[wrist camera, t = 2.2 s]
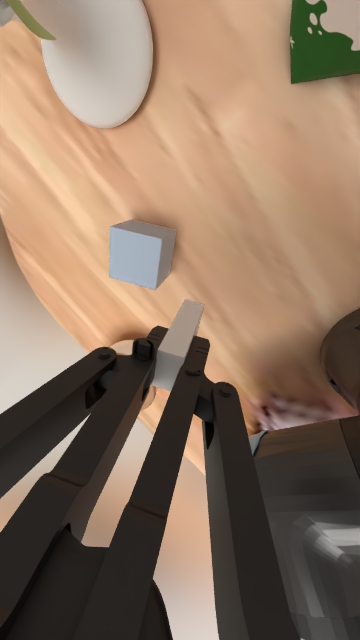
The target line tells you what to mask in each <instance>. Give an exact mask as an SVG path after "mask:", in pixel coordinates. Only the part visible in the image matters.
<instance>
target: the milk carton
mask: <svg viewBox="0 0 360 640" xmlns="http://www.w3.org/2000/svg"><path fill="white" fill-rule="evenodd" d="M290 55H291V84H293V83H299V82H306V81H312V80H318V79H325V78H331V77H337V76H344V75H350V74H356V73H360V0H293V1H292V13H291V23H290Z"/></svg>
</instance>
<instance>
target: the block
mask: <svg viewBox="0 0 360 640" xmlns="http://www.w3.org/2000/svg"><path fill="white" fill-rule="evenodd" d="M176 231H177V230H176V229H172V228H168V227H163V226H159V225H155V224H151V223H146V222H142V221H138V220H134V219H132V220H129V221H126V222H123V223H120V224H117V225H113V226H110V258H109V278H113V279H117V280H120V281H124V282H128V283H131V284H135V285H139V286H142V287H146V288H150V289H154V290H156V289H157V288H158V287H159V285H160V284H161V283H162V282H163V281H164V280H165V279H166V278H167V276H168V275H169V274H170V269H171V263H172V256H173V250H174V244H175V237H176Z"/></svg>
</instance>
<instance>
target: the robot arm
mask: <svg viewBox="0 0 360 640" xmlns="http://www.w3.org/2000/svg"><path fill="white" fill-rule="evenodd" d="M203 308H204V304H201V303H197V302H194V301H190V300H186V299H185V301H184V303H183V304H182V306H181V308H180V310H179V312H178V313H177V315H176V317H175V319H174V321H173V323H172V324H171V326H170V328H169V329H168V328H164V327H161V326H156V327H155V328H153V329H152V330H151V332H150V333H149V335H148V336H147V338H138V339H136V340H134V341H133V346H132V354H131V355H117V353H116V351H115V350H114V349H113V348H110V347H100V348H97V349H95V350H94V351H92V352H91V353H89V354H88V355H87V356H85V357H84V358H82V359H81V360H79V361H78V362H76V363H75V364H73V365H72V366H70V367H69V368H67V369H66V370H64V371H63V372H62V373H60V374H59V375H57V376H56V377H54V378H53V379H51V380H50V381H48V382H47V383H46V384H44V385H42V386H41V387H40V388H38V389H37V390H35V391H34V392H32V393H31V394H29V395H28V396H26V397H25V398H24V399H22V400H20V401H19V402H18V403H16V404H15V405H13V406H12V407H10V408H9V409H7V410H6V411H4V412H3V413H1V414H0V498H1V497H2V496H4V495H5V494H6V493H7V492H8V491H9V490H10V489H11V488H12V487H13V486H14V485H15V484H16V483H17V482H18V481H19V480H20V479H22V478H23V477H24V476H25V475H26V474H27V473H28V472H29V471H30V470H31V469H32V468H33V467H34V466H35V465H36V464H38V463H39V462H40V461H41V459H43V458H44V457H45V456H46V455H47V454H48V453H49V452H50V451H51V450H52V449H53V448H54V447H56V446H57V445H58V444H59V443H60V442H61V441H62V440H63V439H64V438H65V437H66V436H67V435H68V434H69V433H70V432H71V431H73V430H74V429H75V428H76V427H77V426H78V425H79V424H80V423H81V422H82V421H83V420H84V419H85V418H86V417H87V416H88V415H89V414H90V416H89V417H88V419H87V420H86V422H85V423H84V425H83V426H82V427H81V429H80V431H79V432H78V434H77V435H76V436H75V438H74V439H73V441H72V442H71V444H70V445H69V447H68V448H67V450H66V451H65V453H64V454H63V455H62V457H61V458H60V460H59V461H58V463H57V464H56V466H55V467H54V469H53V470H52V471H51V472H49V473H46V474H44V475H43V476H41V477H40V478H39V480H38V481H37V482H36V483H35V485H34V486H33V487H32V489H31V490H30V492H29V493H28V495H27V496H26V497H25V499H24V500H23V502H22V503H21V504H20V506H19V507H18V509H17V510H16V512H15V513H14V514H13V516H12V517H11V519H10V520H9V521H8V523H7V525H6V526H5V527H4V528H3V530H2V531H1V532H0V640H173V638H172V634H171V630H170V625H169V620H168V616H167V612H166V608H165V604H164V601H163V598H162V595H161V593H160V591H159V589H158V587H157V585H156V583H155V582H154V580H153V575H154V571H155V567H156V563H157V558H158V555H159V551H160V547H161V542H162V539H163V535H164V531H165V527H166V522H167V517H168V512H169V508H170V504H171V500H172V496H173V492H174V488H175V485H176V480H177V477H178V472H179V469H180V465H181V461H182V457H183V453H184V449H185V445H186V441H187V437H188V433H189V429H190V425H191V421H192V417H193V414H195V415H196V416H198V417H199V418H201V419H202V428H203V442H204V456H205V470H206V484H207V498H208V512H209V526H210V538H211V552H212V567H213V581H214V595H215V608H216V617H217V626H218V634H219V640H360V309H359V310H357V311H355V312H353V313H351V314H349V315H348V316H346V317H345V318H343V319H342V320H341V321H340V322H338V323H337V324H336V325H335V326H334V327H333V328H332V329H331V330H330V332H329V333H328V335H327V336H326V338H325V340H324V342H323V344H322V347H321V353H320V359H321V364H322V368H323V370H324V373H325V375H326V378H327V380H328V381H329V383H330V384H331V386H332V387H333V388H334V389H335V390H336V391H337V392H338V393H339V394H340V395H341V396H342V397H343V398H344V399H345V400H346V401H347V402H348V403H349V404H350V405H351V406H352V407H353V408H354V409H355V410H356V411H357V412H358V414H359V415H358V416H353V417H348V418H343V419H335V420H329V421H324V422H318V423H313V424H307V425H302V426H296V427H290V428H285V429H279V430H274V431H270V430H265V431H262V432H260V433H259V434H255V435H251V436H248V433H247V429H246V425H245V421H244V417H243V412H242V408H241V404H240V400H239V396H238V392H237V390H236V389H235V387H234V386H232V385H231V384H229V383H226V382H218V383H216V384H215V383H213V382H212V381H210V380H209V379H208V378H207V377H206V376H205V373H204V368H205V364H206V360H207V356H208V352H209V348H210V343H209V340H208V339H204V338H201V337H197V336H196V335H197V332H198V328H199V324H200V320H201V316H202V312H203ZM152 381H153V383H152ZM151 383H152V385H153V386H156V387H159V388H162V389H166V390H169V391H171V393H170V395H169V398H168V401H167V403H166V406H165V408H164V411H163V414H162V416H161V419H160V421H159V424H158V427H157V429H156V432H155V434H154V437H153V440H152V442H151V445H150V448H149V450H148V453H147V455H146V458H145V461H144V463H143V466H142V468H141V471H140V474H139V476H138V479H137V482H136V484H135V487H134V489H133V492H132V495H131V497H130V500H129V502H128V503H127V504H126V506H125V508H124V510H123V513H122V515H121V518H120V520H119V523H118V525H117V528H116V530H115V533H114V536H113V538H112V541H111V543H110V546H109V547H88V546H84V545H83V544H82V543H81V540H82V538H83V536H84V533H85V530H86V527H87V523H88V520H89V518H90V515H91V513H92V511H93V509H94V507H95V505H96V503H97V500H98V498H99V496H100V494H101V492H102V490H103V488H104V486H105V484H106V481H107V479H108V477H109V475H110V473H111V471H112V469H113V467H114V465H115V463H116V460H117V458H118V456H119V454H120V452H121V450H122V448H123V446H124V444H125V442H126V439H127V437H128V435H129V433H130V431H131V429H132V427H133V425H134V423H135V421H136V418H137V416H138V414H139V412H140V410H141V408H142V406H143V404H144V402H145V400H146V397H147V395H148V393H149V390H150V385H151Z"/></svg>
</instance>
